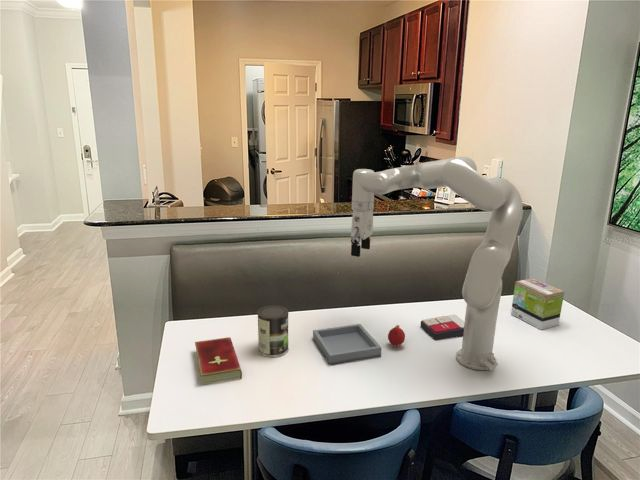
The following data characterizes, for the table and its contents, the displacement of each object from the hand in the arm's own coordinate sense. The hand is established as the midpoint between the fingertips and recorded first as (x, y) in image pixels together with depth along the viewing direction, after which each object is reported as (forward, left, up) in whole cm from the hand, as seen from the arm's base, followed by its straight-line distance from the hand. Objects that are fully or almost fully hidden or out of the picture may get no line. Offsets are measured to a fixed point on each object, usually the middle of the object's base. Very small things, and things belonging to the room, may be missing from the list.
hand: (360, 252), depth 166 cm
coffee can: (-7, +34, -30) cm, 46 cm away
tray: (-13, +10, -30) cm, 34 cm away
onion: (-17, -7, -30) cm, 35 cm away
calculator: (-12, -30, -30) cm, 45 cm away
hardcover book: (-11, +53, -30) cm, 62 cm away
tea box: (-14, -69, -30) cm, 77 cm away
